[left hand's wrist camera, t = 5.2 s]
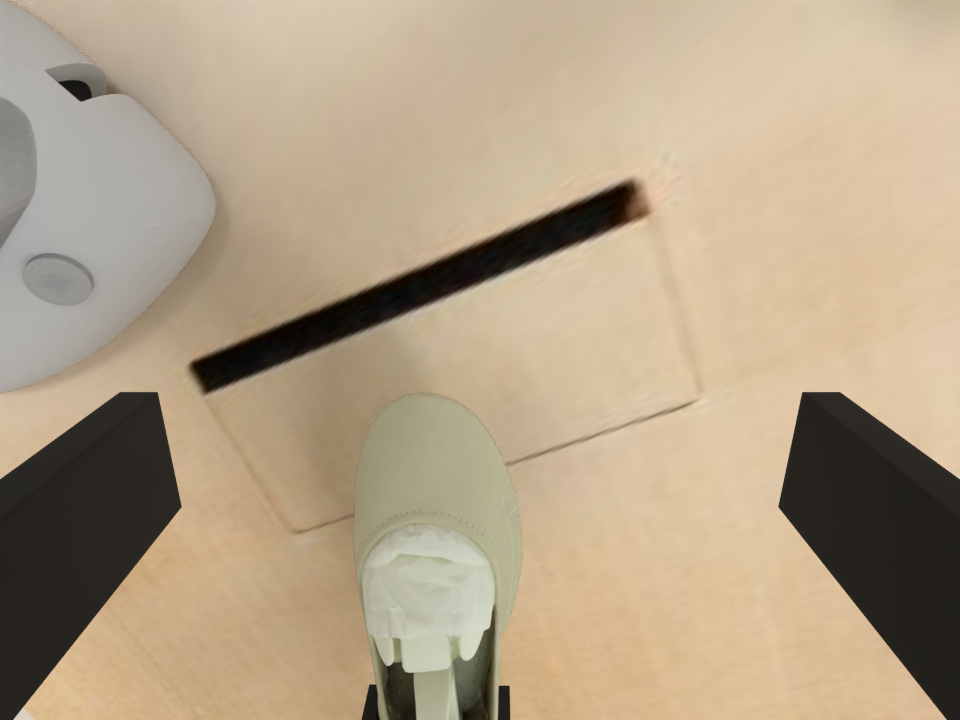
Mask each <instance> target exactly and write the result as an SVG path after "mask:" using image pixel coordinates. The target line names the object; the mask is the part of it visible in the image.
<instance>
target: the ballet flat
mask: <svg viewBox="0 0 960 720" xmlns="http://www.w3.org/2000/svg"><path fill="white" fill-rule="evenodd" d="M353 542H354V557H355V562H356V567H357V569H356V576H357V585H358V591H359V595H360V600H361V604H362V608H363V613H364V618H365V624H366V630H367V635H368V641H369V646H370V651H371V657H372V663H373V668H374V674H375V679H376V685H377V692H378V711H379V717H380V720H498V690H499V657H500V636H501V635H502V634H503V632H504V631H505V629H506V627H507V624H508V622H509V619H510V616H511V613H512V609H513V605H514V602H515V598H516V594H517V591H518V583H519V578H520V573H521V565H522V533H521V524H520V517H519V510H518V505H517V499H516V493H515V490H514V487H513V484H512V481H511V478H510V475H509V472H508V470H507V467H506V465H505V463H504V460H503V458H502V455H501V453H500V451H499V448H498V446H497V444H496V442H495V440H494V439H493V437H492V436H491V434H490V433H489V431H488V430H487V429H486V427H485V426H484V425H483V423H482V422H481V421H480V419H479V418H478V417H477V416H476V415H475V414H474V413H473V412H472V411H471V410H470V409H469V408H468V407H466V406H465V405H463V404H461V403H459V402H457V401H456V400H453V399H451V398H448V397H445V396H441V395H438V394H433V393H413V394H409V395H405V396H403V397H400V398H398V399H396V400H394V401H393V402H391V403H390V404H388V405H387V406H386V407H385V408H384V409H383V410H382V411H381V412H380V413H379V415H378V416H377V417H376V419H375V420H374V422H373V424H372V426H371V428H370V430H369V432H368V434H367V437H366V439H365V442H364V446H363V449H362V452H361V456H360V460H359V464H358V469H357V475H356V481H355V515H354V531H353Z"/></svg>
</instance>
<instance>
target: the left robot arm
mask: <svg viewBox="0 0 960 720" xmlns="http://www.w3.org/2000/svg"><path fill="white" fill-rule="evenodd" d="M180 508H181V502H180V497H179V492H178V487H177V483H176V478H175V473H174V468H173V464H172V459H171V454H170V449H169V444H168V440H167V435H166V430H165V425H164V420H163V416H162V411H161V406H160V401H159V397H158V392H120V393H118V394H117V395H116V396H114V397H113V398H111V399H110V400H109V401H107V402H106V403H105V404H103V405H102V406H100V407H99V408H98V409H96V410H95V411H94V412H92V413H91V414H89V415H88V416H87V417H85V418H84V419H83V420H81V421H80V422H78V423H77V424H76V425H74V426H73V427H72V428H70V429H69V430H67V431H66V432H65V433H63V434H62V435H61V436H59V437H58V438H56V439H55V440H54V441H52V442H51V443H50V444H48V445H47V446H45V447H44V448H43V449H41V450H40V451H39V452H37V453H36V454H34V455H33V456H32V457H30V458H29V459H28V460H26V461H25V462H23V463H22V464H21V465H19V466H18V467H17V468H15V469H14V470H12V471H11V472H10V473H8V474H7V475H6V476H4V477H3V478H2V479H0V720H13V719H14V718H15V717H16V715H17V714H18V713H19V712H20V710H21V709H22V708H23V707H24V705H25V704H26V703H27V702H28V700H29V699H30V698H31V696H32V695H33V694H34V693H35V691H36V690H37V689H38V688H39V686H40V685H41V684H42V683H43V681H44V680H45V679H46V678H47V676H48V675H49V674H50V672H51V671H52V670H53V669H54V667H55V666H56V665H57V664H58V662H59V661H60V660H61V659H62V657H63V656H64V655H65V654H66V652H67V651H68V650H69V649H70V647H71V646H72V645H73V643H74V642H75V641H76V640H77V638H78V637H79V636H80V635H81V633H82V632H83V631H84V630H85V628H86V627H87V626H88V625H89V623H90V622H91V621H92V619H93V618H94V617H95V616H96V614H97V613H98V612H99V611H100V609H101V608H102V607H103V606H104V604H105V603H106V602H107V601H108V599H109V598H110V597H111V595H112V594H113V593H114V592H115V590H116V589H117V588H118V587H119V585H120V584H121V583H122V582H123V580H124V579H125V578H126V577H127V575H128V574H129V573H130V571H131V570H132V569H133V568H134V566H135V565H136V564H137V563H138V561H139V560H140V559H141V558H142V556H143V555H144V554H145V553H146V551H147V550H148V549H149V547H150V546H151V545H152V544H153V542H154V541H155V540H156V539H157V537H158V536H159V535H160V534H161V532H162V531H163V530H164V529H165V527H166V526H167V525H168V524H169V522H170V521H171V520H172V518H173V517H174V516H175V515H176V513H177V512H178V511H179V510H180ZM779 508H780V510H781V511H782V512H783V513H784V515H785V516H786V517H787V518H788V520H789V521H790V522H791V524H792V525H793V526H794V527H795V529H796V530H797V531H798V532H799V534H800V535H801V536H802V537H803V539H804V540H805V541H806V542H807V544H808V545H809V546H810V547H811V549H812V550H813V551H814V553H815V554H816V555H817V556H818V558H819V559H820V560H821V561H822V563H823V564H824V565H825V566H826V568H827V569H828V570H829V571H830V573H831V574H832V575H833V577H834V578H835V579H836V580H837V582H838V583H839V584H840V585H841V587H842V588H843V589H844V590H845V592H846V593H847V594H848V595H849V597H850V598H851V599H852V601H853V602H854V603H855V604H856V606H857V607H858V608H859V609H860V611H861V612H862V613H863V614H864V616H865V617H866V618H867V619H868V621H869V622H870V623H871V625H872V626H873V627H874V628H875V630H876V631H877V632H878V633H879V635H880V636H881V637H882V638H883V640H884V641H885V642H886V643H887V645H888V646H889V647H890V649H891V650H892V651H893V652H894V654H895V655H896V656H897V657H898V659H899V660H900V661H901V662H902V664H903V665H904V666H905V667H906V669H907V670H908V671H909V672H910V674H911V675H912V676H913V678H914V679H915V680H916V681H917V683H918V684H919V685H920V686H921V688H922V689H923V690H924V691H925V693H926V694H927V695H928V696H929V698H930V699H931V700H932V702H933V703H934V704H935V705H936V707H937V708H938V709H939V710H940V712H941V713H942V714H943V715H944V717H945V718H946V719H947V720H960V479H958V478H957V477H956V476H954V475H953V474H952V473H950V472H949V471H947V470H946V469H945V468H943V467H942V466H941V465H939V464H938V463H937V462H935V461H934V460H932V459H931V458H930V457H928V456H927V455H926V454H924V453H923V452H921V451H920V450H919V449H917V448H916V447H915V446H913V445H912V444H910V443H909V442H908V441H906V440H905V439H904V438H902V437H901V436H899V435H898V434H897V433H895V432H894V431H893V430H891V429H890V428H888V427H887V426H886V425H884V424H883V423H882V422H880V421H879V420H877V419H876V418H875V417H873V416H872V415H871V414H869V413H868V412H866V411H865V410H864V409H862V408H861V407H860V406H858V405H857V404H855V403H854V402H853V401H851V400H850V399H849V398H847V397H846V396H844V395H843V394H842V393H840V392H802V397H801V401H800V406H799V411H798V416H797V420H796V425H795V430H794V435H793V440H792V444H791V449H790V454H789V459H788V464H787V468H786V473H785V478H784V483H783V487H782V492H781V497H780V502H779Z"/></svg>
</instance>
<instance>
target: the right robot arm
mask: <svg viewBox="0 0 960 720" xmlns="http://www.w3.org/2000/svg"><path fill="white" fill-rule="evenodd" d="M362 720H380V717H379V711H378V692H377V685H369V689H368V694H367V698H366V703H365V707H364V712H363V716H362ZM498 720H510V688H509V686H499V690H498Z"/></svg>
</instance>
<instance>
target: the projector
mask: <svg viewBox="0 0 960 720" xmlns="http://www.w3.org/2000/svg"><path fill="white" fill-rule="evenodd" d="M106 90H107V83H106V77H105V75H104V73H103V71H102V70H101V69H100V68H99V67H98V66H97V65H96V64H95V63H93V62H92V61H91V60H90V59H89V58H88V57H86V56H85V55H84V54H83V53H82V52H81V51H79V50H78V49H77V48H76V47H75V46H73V45H72V44H71V43H70V42H69V41H68V40H66V39H65V38H64V37H63V36H61V35H60V34H59V33H58V32H56V31H55V30H54V29H53V28H51V27H50V26H49V25H48V24H46V23H45V22H43V21H42V20H41V19H39V18H38V17H36V16H35V15H33V14H32V13H30V12H29V11H27V10H25V9H24V8H22V7H20V6H18V5H17V4H15V3H13V2H11V1H8V0H0V394H2V393H6V392H10V391H14V390H17V389H20V388H23V387H27V386H30V385H33V384H35V383H38V382H40V381H42V380H45V379H47V378H49V377H52V376H54V375H56V374H58V373H60V372H62V371H64V370H66V369H68V368H70V367H71V366H73V365H75V364H77V363H78V362H80V361H82V360H84V359H85V358H87V357H88V356H90V355H91V354H93V353H94V352H96V351H97V350H99V349H100V348H102V347H103V346H104V345H106V344H107V343H108V342H110V341H111V340H112V339H113V338H115V337H116V336H117V335H118V334H120V333H121V332H122V331H123V330H124V329H126V328H127V327H128V326H129V325H130V324H131V323H132V322H133V321H134V320H135V319H136V318H138V317H139V316H140V315H141V314H142V313H143V312H144V311H145V310H146V309H147V308H148V307H149V306H150V305H151V304H152V303H153V302H154V301H155V300H156V299H157V298H158V297H159V296H160V294H161V293H162V292H163V291H164V290H165V289H166V288H167V287H168V285H169V284H170V283H171V282H172V281H173V280H174V279H175V277H176V276H177V275H178V274H179V272H180V271H181V270H182V269H183V268H184V266H185V265H186V264H187V263H188V261H189V260H190V259H191V257H192V256H193V255H194V253H195V252H196V250H197V249H198V248H199V246H200V245H201V243H202V241H203V240H204V238H205V237H206V235H207V233H208V231H209V229H210V227H211V225H212V223H213V219H214V216H215V211H216V198H215V194H214V190H213V188H212V185H211V182H210V180H209V178H208V176H207V174H206V173H205V171H204V170H203V168H202V166H201V165H200V164H199V163H198V161H197V160H196V159H195V158H194V156H193V155H192V154H191V153H190V152H189V151H188V150H187V149H186V147H185V146H184V145H183V144H182V143H181V142H180V141H179V140H178V139H177V138H176V137H175V136H174V135H173V134H172V133H171V132H170V131H169V130H168V129H167V128H166V127H165V126H163V125H162V124H161V123H160V122H159V121H158V120H157V119H156V118H155V117H154V116H153V115H152V114H151V113H149V112H148V111H147V110H146V109H145V108H144V107H143V106H142V105H141V104H140V103H138V102H137V101H136V100H135V99H134V98H132V97H130V96H128V95H124V94H109V95H106Z"/></svg>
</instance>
